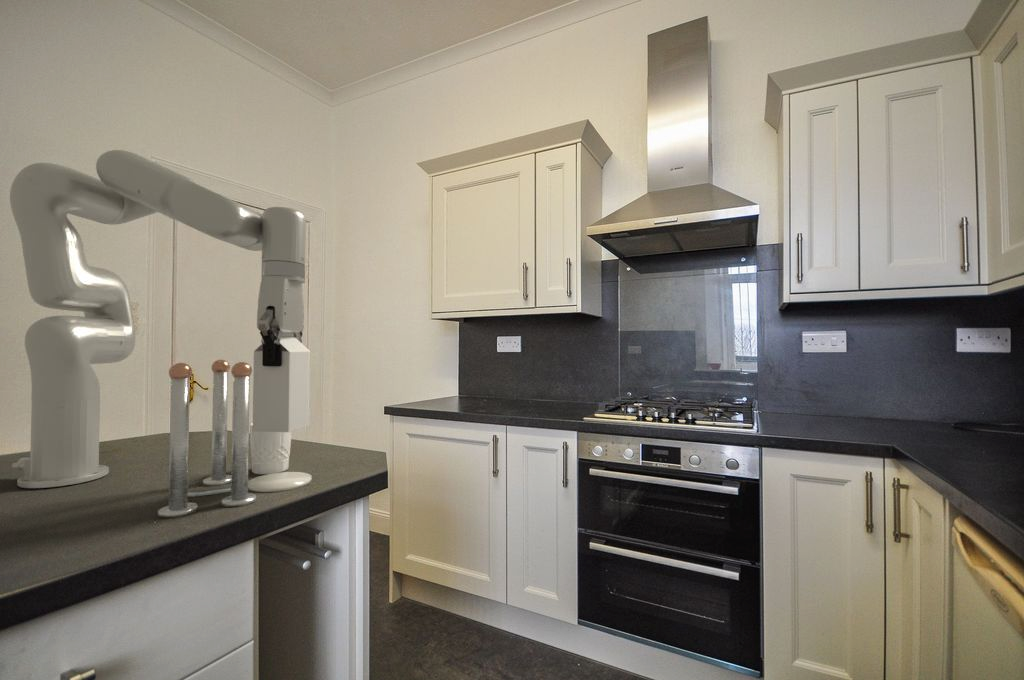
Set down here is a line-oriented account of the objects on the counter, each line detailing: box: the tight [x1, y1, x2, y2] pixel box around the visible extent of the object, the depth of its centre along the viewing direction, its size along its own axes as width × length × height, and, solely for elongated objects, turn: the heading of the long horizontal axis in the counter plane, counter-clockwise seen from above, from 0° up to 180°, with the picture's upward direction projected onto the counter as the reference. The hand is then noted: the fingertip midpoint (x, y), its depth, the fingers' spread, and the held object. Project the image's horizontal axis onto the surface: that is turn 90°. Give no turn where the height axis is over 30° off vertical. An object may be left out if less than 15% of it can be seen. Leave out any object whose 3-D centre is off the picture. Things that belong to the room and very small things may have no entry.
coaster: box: [248, 471, 313, 493], centre depth 87 cm, size 11×11×1 cm
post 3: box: [221, 361, 257, 508], centre depth 77 cm, size 5×5×24 cm
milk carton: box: [252, 332, 311, 433], centre depth 87 cm, size 7×7×19 cm
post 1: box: [157, 362, 198, 519], centre depth 72 cm, size 5×5×24 cm
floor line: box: [188, 487, 231, 497], centre depth 81 cm, size 11×2×1 cm, turn 112°
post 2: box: [202, 359, 231, 487], centre depth 88 cm, size 5×5×24 cm
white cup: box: [249, 422, 292, 475], centre depth 96 cm, size 8×8×10 cm
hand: (282, 364), depth 87 cm, fingers closed on milk carton, 7 cm apart
